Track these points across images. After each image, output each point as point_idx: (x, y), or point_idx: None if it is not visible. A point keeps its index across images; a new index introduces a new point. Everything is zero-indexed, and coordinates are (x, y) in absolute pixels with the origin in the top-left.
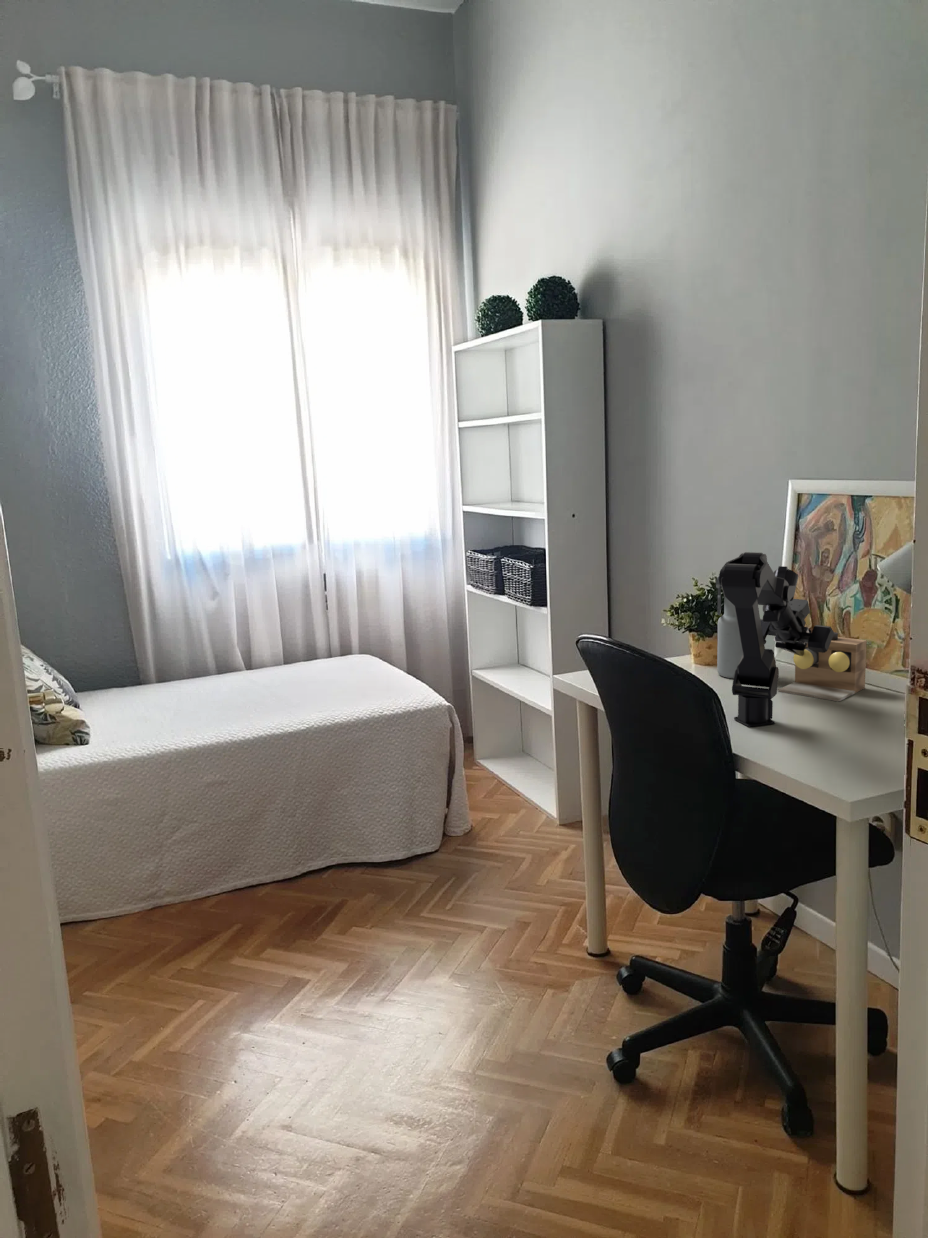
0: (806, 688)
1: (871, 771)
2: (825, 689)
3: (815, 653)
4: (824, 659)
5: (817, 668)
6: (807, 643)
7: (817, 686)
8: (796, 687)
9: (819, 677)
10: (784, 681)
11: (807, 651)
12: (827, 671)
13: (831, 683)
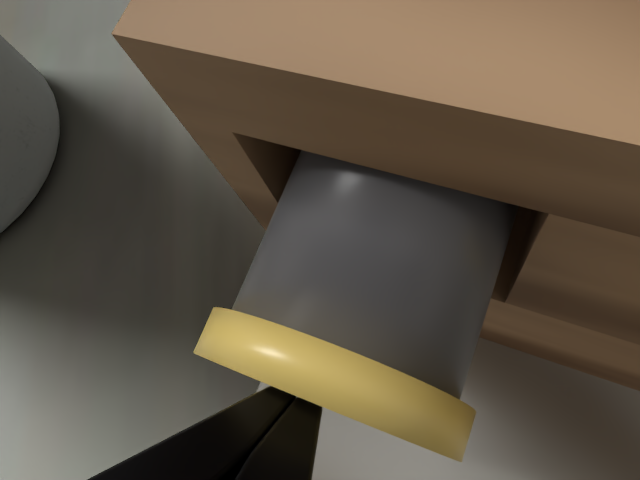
0: (410, 470)
1: None
2: (576, 466)
3: (482, 252)
4: (610, 299)
5: (493, 301)
6: (335, 129)
7: (489, 376)
8: (327, 453)
9: (507, 329)
10: (235, 224)
11: (374, 419)
12: (610, 343)
13: (622, 375)
